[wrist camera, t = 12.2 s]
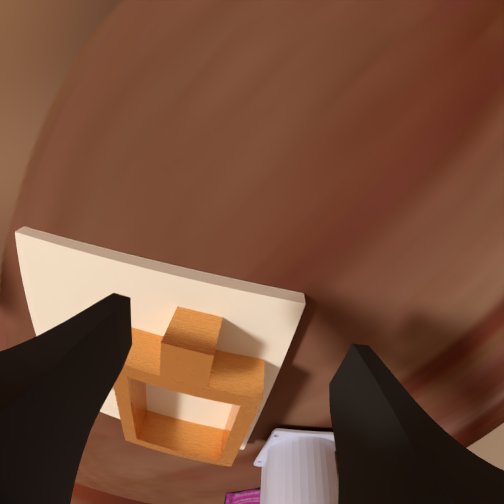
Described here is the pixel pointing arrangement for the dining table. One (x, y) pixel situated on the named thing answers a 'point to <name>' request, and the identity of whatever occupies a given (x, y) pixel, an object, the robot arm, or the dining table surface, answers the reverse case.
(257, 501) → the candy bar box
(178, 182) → the dining table surface
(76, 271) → the board
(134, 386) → the wooden link
